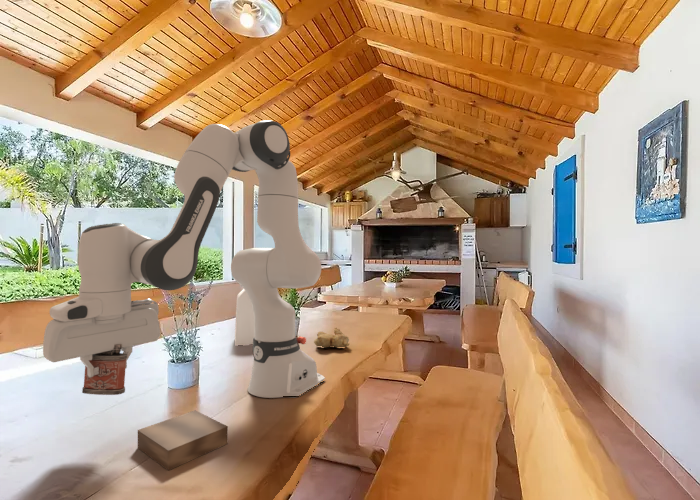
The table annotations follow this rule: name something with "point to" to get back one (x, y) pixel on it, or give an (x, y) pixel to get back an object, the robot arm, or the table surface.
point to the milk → (244, 320)
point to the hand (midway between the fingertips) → (107, 372)
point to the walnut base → (182, 438)
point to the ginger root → (332, 339)
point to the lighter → (107, 373)
